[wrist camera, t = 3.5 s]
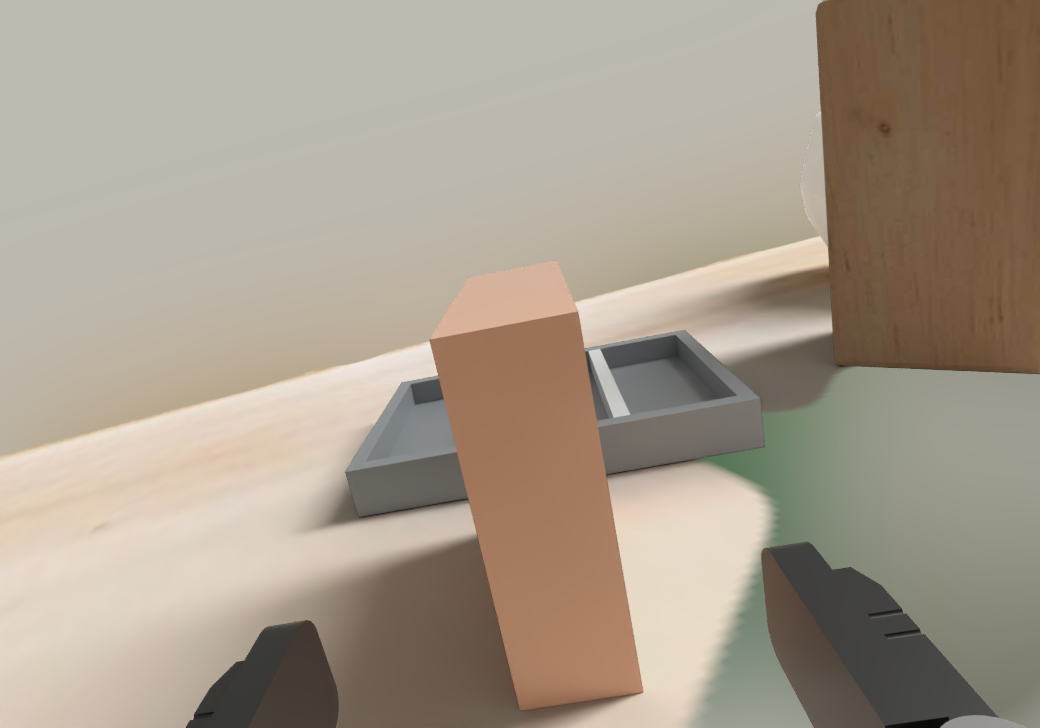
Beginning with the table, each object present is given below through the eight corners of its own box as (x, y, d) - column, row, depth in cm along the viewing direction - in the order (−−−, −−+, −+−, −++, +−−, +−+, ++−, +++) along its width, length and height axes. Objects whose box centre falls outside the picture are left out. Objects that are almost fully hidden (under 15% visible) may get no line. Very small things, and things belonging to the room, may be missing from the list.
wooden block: (832, 367, 37) (811, 2, 31) (873, 321, 44) (862, 14, 38) (1051, 378, 30) (1075, -87, 24) (1059, 320, 37) (1079, -52, 31)
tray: (764, 447, 29) (760, 398, 28) (358, 517, 30) (345, 471, 29) (688, 364, 42) (684, 329, 42) (410, 415, 44) (401, 382, 43)
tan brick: (643, 692, 17) (578, 311, 14) (520, 711, 17) (429, 339, 14) (600, 509, 27) (556, 260, 24) (522, 522, 27) (468, 277, 24)
